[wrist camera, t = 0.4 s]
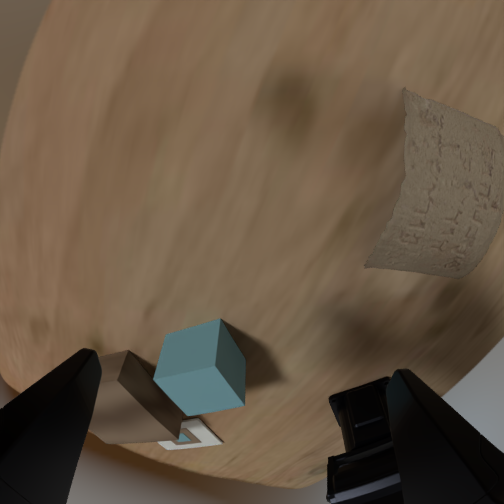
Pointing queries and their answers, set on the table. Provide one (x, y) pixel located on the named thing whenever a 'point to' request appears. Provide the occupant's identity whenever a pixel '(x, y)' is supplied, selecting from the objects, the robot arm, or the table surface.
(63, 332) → the table surface
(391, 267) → the clay tablet
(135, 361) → the walnut block
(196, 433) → the card
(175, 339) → the teal cube
